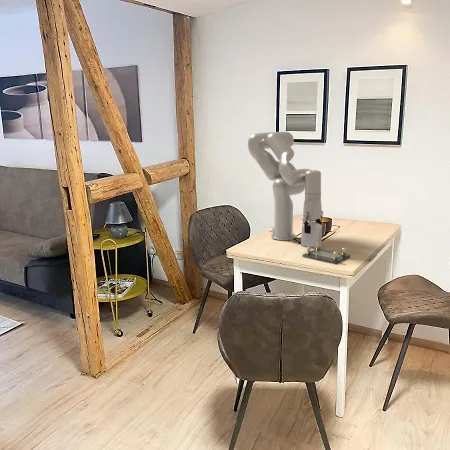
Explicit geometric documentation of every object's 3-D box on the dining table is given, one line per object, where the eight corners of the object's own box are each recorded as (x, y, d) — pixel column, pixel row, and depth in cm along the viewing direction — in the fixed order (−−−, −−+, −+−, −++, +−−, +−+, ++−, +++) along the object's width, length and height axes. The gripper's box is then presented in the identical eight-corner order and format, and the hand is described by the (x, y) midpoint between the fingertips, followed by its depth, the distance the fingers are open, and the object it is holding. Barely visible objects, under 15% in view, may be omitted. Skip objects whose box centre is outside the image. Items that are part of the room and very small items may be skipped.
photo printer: (322, 246, 230) (323, 222, 227) (319, 249, 227) (320, 224, 224) (303, 243, 236) (303, 219, 233) (299, 246, 232) (300, 221, 229)
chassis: (302, 256, 216) (302, 247, 214) (317, 250, 225) (317, 241, 224) (335, 264, 205) (336, 254, 203) (349, 256, 214) (350, 247, 213)
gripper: (315, 193, 233) (315, 227, 237) (296, 198, 221) (296, 234, 225) (329, 194, 228) (328, 228, 232) (310, 199, 216) (310, 236, 220)
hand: (313, 231), depth 228 cm, fingers open, 9 cm apart
